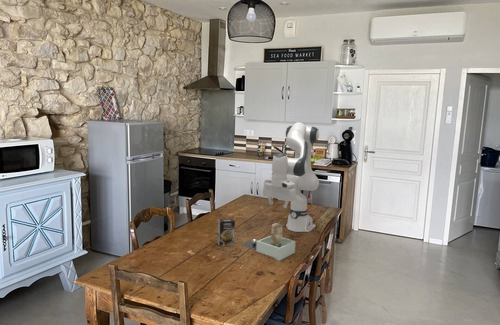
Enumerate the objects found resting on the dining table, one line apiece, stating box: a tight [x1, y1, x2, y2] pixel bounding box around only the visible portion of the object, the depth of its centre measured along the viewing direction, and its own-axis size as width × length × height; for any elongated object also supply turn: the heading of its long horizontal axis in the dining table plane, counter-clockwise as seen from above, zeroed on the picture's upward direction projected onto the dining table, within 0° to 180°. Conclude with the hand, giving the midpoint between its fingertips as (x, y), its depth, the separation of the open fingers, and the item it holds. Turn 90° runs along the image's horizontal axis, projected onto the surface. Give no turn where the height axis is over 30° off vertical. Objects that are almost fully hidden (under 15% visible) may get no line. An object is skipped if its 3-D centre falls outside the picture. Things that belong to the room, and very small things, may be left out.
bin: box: [255, 235, 296, 261], centre depth 215 cm, size 16×16×7 cm
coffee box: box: [217, 217, 236, 247], centre depth 223 cm, size 9×6×16 cm
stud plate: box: [240, 238, 258, 251], centre depth 224 cm, size 12×12×5 cm
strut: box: [270, 222, 284, 248], centre depth 214 cm, size 4×4×16 cm
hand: (277, 206), depth 212 cm, fingers open, 8 cm apart
